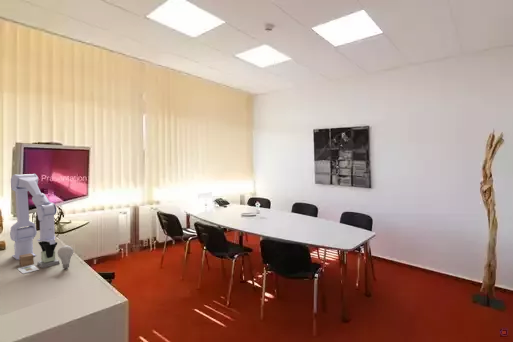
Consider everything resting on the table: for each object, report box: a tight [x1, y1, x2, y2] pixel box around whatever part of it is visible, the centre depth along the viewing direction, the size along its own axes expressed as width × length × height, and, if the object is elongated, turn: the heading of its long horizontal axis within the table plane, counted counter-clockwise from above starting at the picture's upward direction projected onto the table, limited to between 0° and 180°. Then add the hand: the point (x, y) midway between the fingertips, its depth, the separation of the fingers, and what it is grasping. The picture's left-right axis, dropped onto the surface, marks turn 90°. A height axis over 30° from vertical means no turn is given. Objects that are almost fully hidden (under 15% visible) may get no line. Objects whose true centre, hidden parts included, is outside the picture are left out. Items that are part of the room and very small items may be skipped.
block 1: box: [18, 253, 35, 267], centre depth 138 cm, size 4×4×4 cm
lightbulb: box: [57, 245, 74, 270], centre depth 131 cm, size 6×6×11 cm
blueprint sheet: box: [16, 264, 40, 275], centre depth 132 cm, size 10×6×1 cm, turn 52°
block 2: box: [40, 250, 56, 263], centre depth 138 cm, size 4×4×4 cm
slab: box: [36, 257, 60, 269], centre depth 138 cm, size 7×7×2 cm
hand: (48, 256), depth 138 cm, fingers closed on block 2, 4 cm apart
